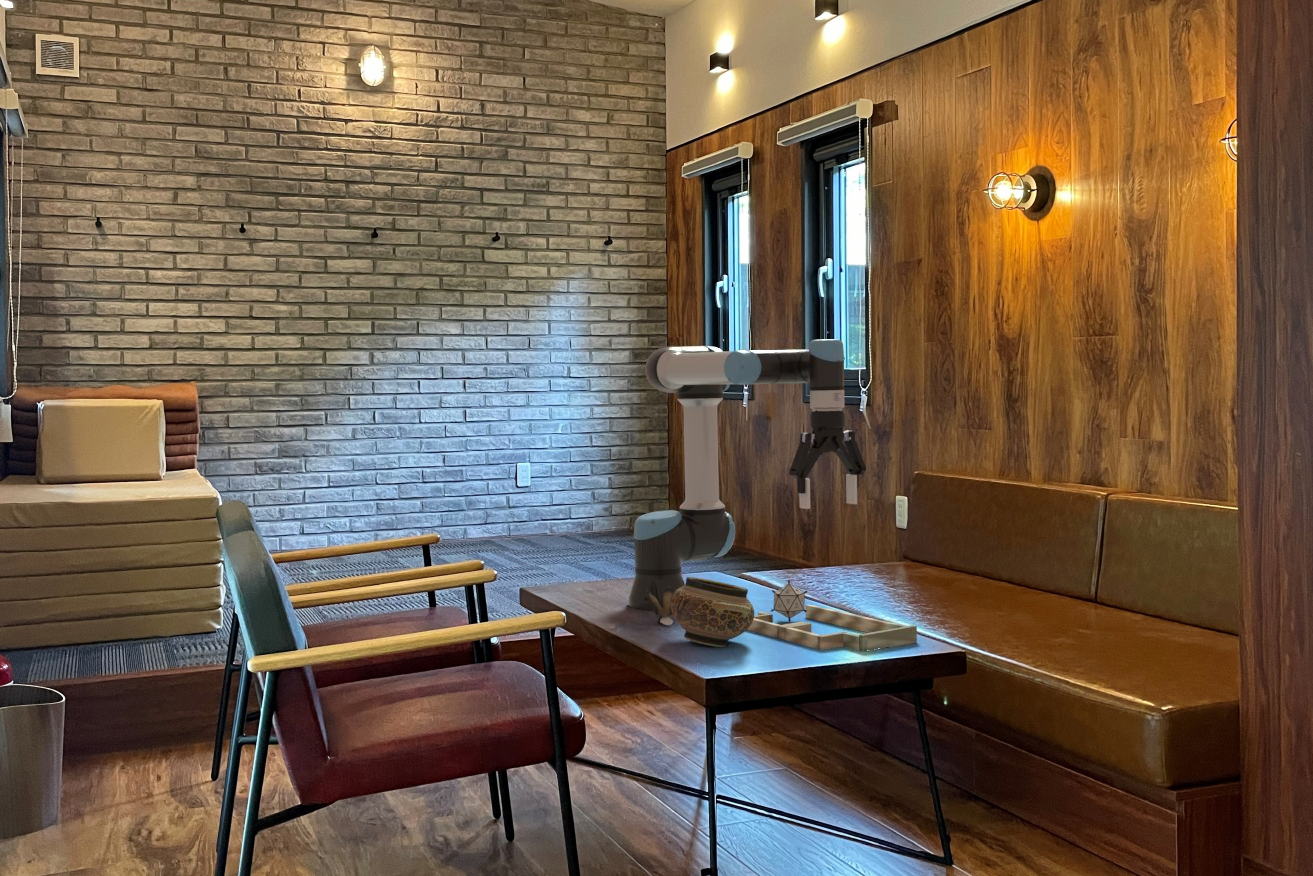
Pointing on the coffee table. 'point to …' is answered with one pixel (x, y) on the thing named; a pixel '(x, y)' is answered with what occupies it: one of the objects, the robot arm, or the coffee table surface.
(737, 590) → the ceramic bowl
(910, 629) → the brown wall maze
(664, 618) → the tan upright piece
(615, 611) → the coffee table surface
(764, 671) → the coffee table surface
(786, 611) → the game die
